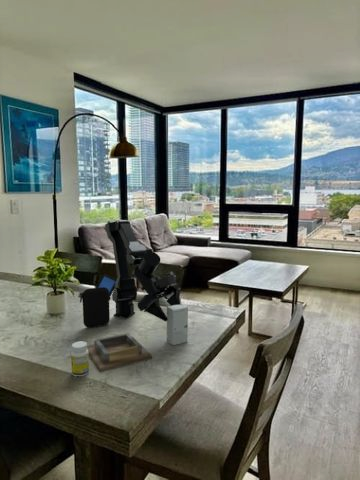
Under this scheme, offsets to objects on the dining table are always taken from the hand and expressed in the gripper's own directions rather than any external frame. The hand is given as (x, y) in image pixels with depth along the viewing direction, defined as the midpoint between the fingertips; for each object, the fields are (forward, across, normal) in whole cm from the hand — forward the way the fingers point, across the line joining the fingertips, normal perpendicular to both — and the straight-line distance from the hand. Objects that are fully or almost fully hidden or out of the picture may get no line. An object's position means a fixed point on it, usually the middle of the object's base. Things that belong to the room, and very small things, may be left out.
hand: (174, 316), depth 119 cm
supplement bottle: (-1, -32, +14) cm, 35 cm away
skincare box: (+7, 0, +6) cm, 9 cm away
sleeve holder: (-1, -18, +13) cm, 22 cm away
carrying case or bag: (-16, -6, +28) cm, 33 cm away
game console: (-34, +22, +47) cm, 62 cm away
